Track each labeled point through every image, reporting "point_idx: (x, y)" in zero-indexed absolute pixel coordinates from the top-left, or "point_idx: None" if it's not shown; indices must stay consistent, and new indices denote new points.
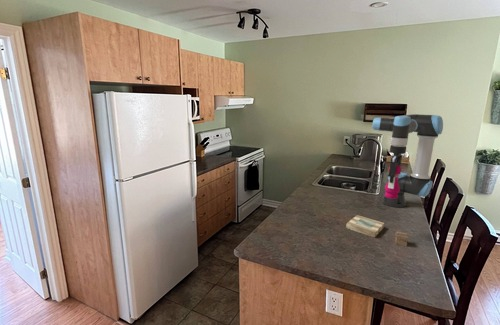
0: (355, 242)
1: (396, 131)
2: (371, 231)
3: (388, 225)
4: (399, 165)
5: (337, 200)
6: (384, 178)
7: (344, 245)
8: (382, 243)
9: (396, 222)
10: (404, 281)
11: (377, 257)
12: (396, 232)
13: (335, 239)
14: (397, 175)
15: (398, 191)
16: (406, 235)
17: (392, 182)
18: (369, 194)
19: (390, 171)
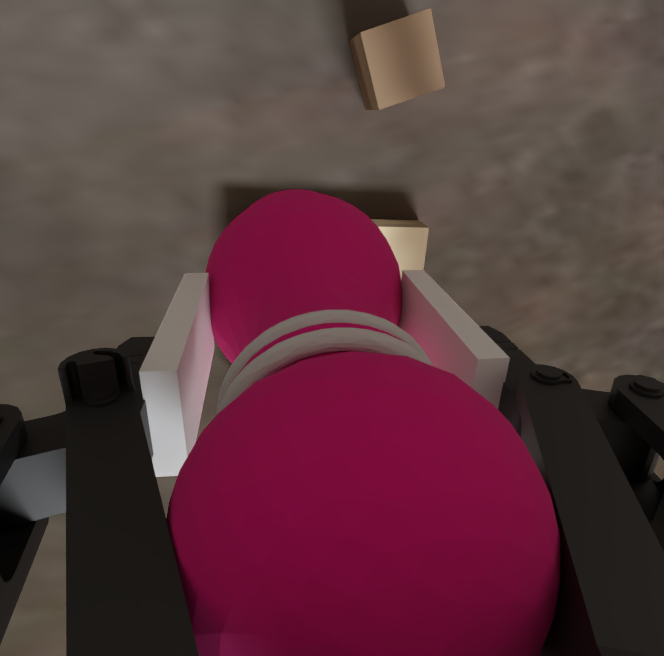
0: (534, 279)
1: None
2: (425, 249)
3: (169, 200)
4: (88, 614)
5: (40, 565)
6: None
7: (592, 307)
8: (463, 160)
9: (62, 167)
10: None
11: (634, 138)
12: (395, 102)
13: (555, 360)
14: (412, 351)
15: (333, 197)
16: (400, 25)
17: (486, 330)
18: None
19: None
